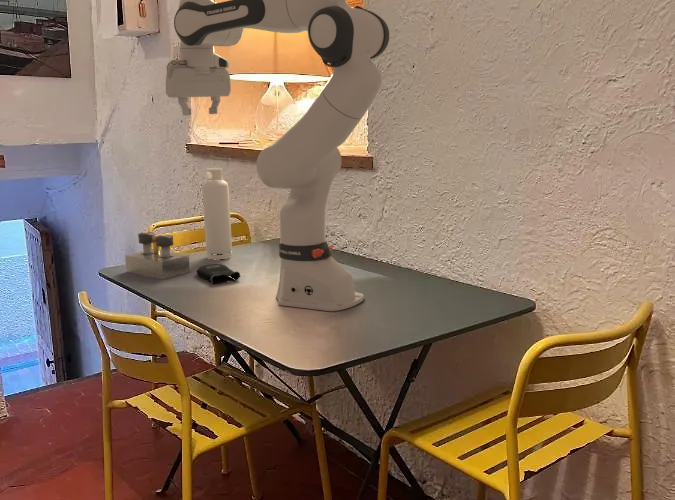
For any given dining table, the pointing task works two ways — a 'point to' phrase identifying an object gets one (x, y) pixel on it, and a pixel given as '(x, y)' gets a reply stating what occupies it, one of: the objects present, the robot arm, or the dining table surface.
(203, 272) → the black pouch
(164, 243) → the knob near
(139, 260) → the mount
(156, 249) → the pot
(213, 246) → the bottle
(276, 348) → the dining table surface
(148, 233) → the knob far
